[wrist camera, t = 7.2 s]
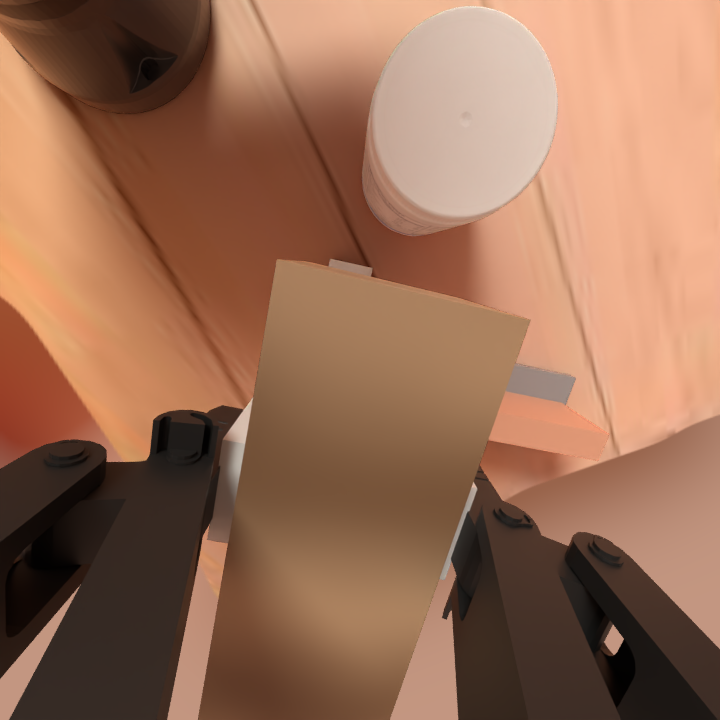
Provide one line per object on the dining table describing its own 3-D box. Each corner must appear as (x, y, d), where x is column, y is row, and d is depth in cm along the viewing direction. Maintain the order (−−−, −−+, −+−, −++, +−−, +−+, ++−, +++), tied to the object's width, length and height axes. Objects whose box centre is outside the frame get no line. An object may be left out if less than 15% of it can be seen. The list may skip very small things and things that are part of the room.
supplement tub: (411, 91, 30) (466, -61, 16) (491, 172, 32) (606, 100, 18) (337, 189, 32) (329, 131, 18) (418, 260, 34) (469, 260, 19)
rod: (320, 756, 16) (309, 947, 11) (214, 744, 15) (160, 935, 11) (457, 297, 11) (530, 319, 6) (307, 261, 10) (277, 259, 6)
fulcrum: (435, 424, 38) (458, 465, 30) (457, 351, 36) (486, 375, 28) (543, 444, 39) (591, 490, 31) (570, 375, 37) (628, 404, 29)
